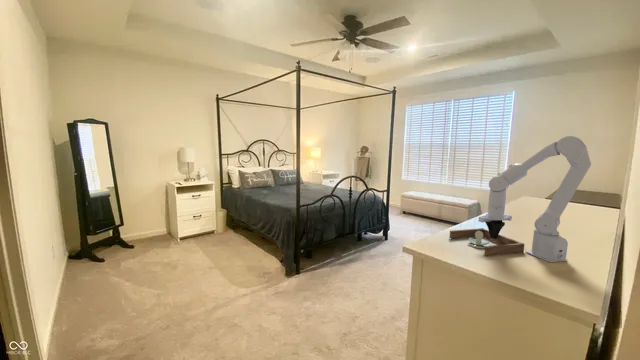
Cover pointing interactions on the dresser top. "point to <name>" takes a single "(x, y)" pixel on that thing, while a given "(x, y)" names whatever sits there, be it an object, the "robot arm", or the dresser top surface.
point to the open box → (506, 243)
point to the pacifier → (477, 240)
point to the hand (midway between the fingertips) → (493, 238)
